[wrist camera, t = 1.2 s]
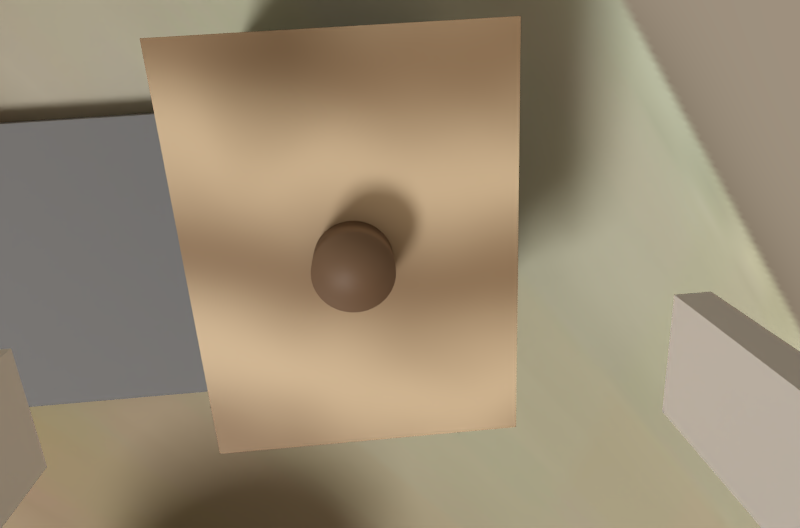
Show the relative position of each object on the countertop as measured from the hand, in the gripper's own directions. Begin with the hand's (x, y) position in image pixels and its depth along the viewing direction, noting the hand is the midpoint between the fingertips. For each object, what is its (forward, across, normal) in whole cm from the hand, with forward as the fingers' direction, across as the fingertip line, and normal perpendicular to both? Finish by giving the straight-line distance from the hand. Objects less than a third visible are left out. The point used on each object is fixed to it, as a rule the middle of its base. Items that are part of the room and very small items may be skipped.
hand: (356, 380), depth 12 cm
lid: (+8, 0, 0) cm, 8 cm away
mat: (+14, -12, -2) cm, 18 cm away
